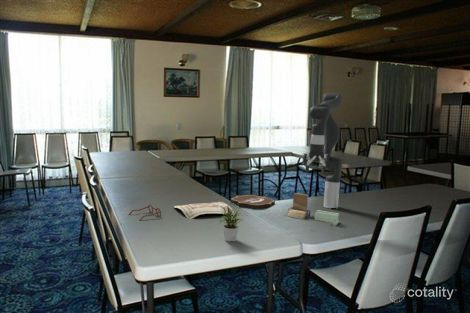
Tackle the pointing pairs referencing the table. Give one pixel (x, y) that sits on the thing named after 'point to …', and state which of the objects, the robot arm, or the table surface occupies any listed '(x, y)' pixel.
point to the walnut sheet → (300, 201)
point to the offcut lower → (296, 216)
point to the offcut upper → (297, 212)
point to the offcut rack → (308, 212)
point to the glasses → (149, 210)
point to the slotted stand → (327, 217)
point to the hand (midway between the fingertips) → (315, 172)
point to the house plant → (230, 225)
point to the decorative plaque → (253, 201)
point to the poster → (203, 209)
